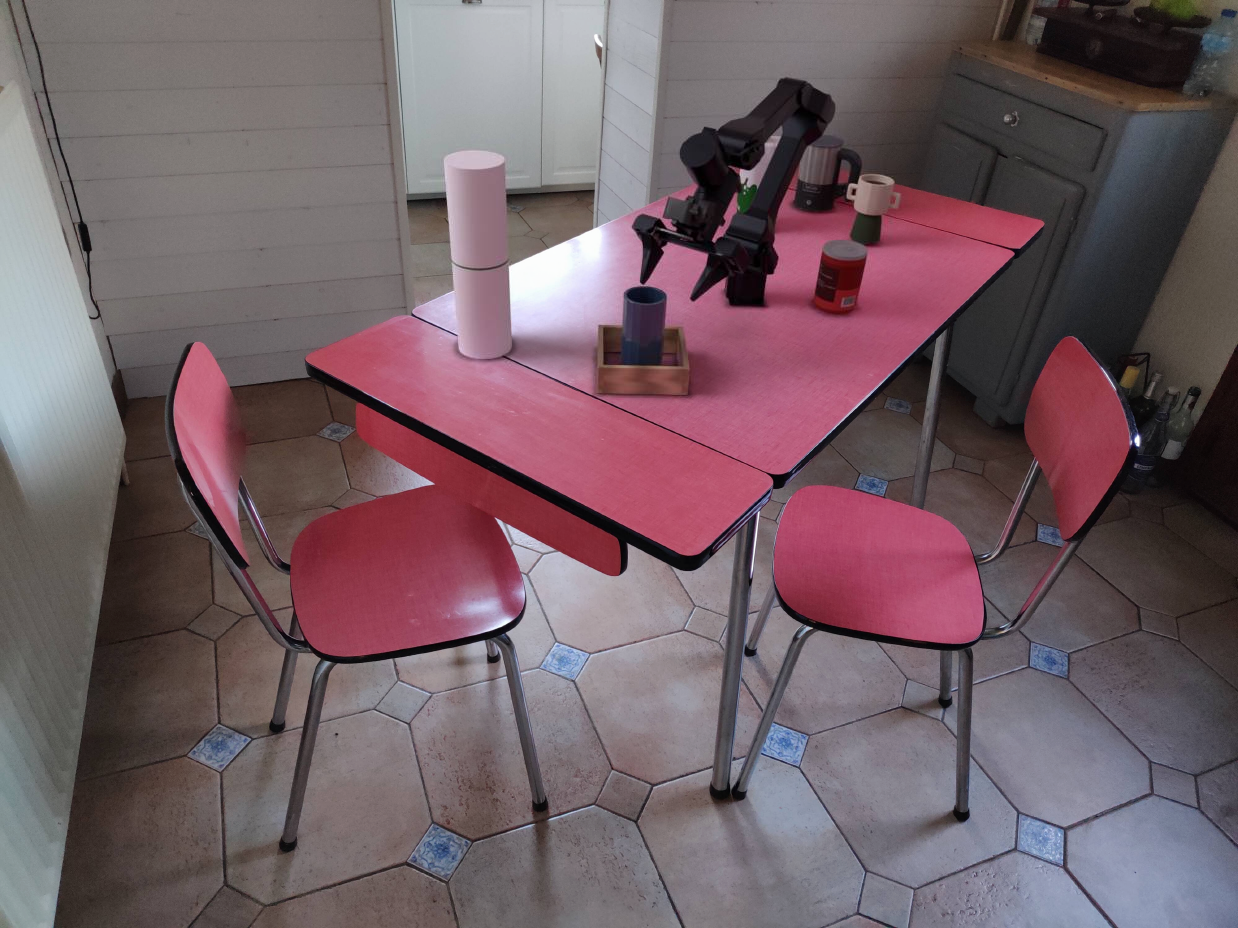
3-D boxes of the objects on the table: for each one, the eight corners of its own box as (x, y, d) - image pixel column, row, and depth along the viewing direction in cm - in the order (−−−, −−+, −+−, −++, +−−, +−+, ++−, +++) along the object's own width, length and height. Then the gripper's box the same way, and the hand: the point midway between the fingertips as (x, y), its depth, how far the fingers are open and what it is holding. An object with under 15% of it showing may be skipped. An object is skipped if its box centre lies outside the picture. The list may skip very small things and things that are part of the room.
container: (460, 333, 147) (446, 150, 129) (512, 333, 148) (505, 150, 130) (456, 359, 140) (441, 169, 123) (511, 359, 141) (504, 169, 123)
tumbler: (660, 361, 142) (665, 286, 134) (662, 382, 137) (668, 305, 129) (620, 360, 142) (623, 285, 134) (620, 381, 137) (624, 304, 129)
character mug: (894, 241, 187) (908, 180, 179) (884, 252, 182) (899, 189, 174) (844, 230, 191) (855, 169, 183) (833, 241, 186) (845, 179, 178)
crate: (680, 351, 145) (682, 326, 142) (687, 395, 134) (689, 369, 131) (597, 349, 145) (598, 324, 142) (597, 393, 134) (598, 367, 131)
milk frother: (791, 211, 199) (801, 143, 190) (792, 188, 212) (802, 123, 203) (855, 217, 197) (869, 149, 189) (852, 193, 210) (865, 129, 201)
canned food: (860, 301, 162) (872, 244, 156) (850, 319, 156) (862, 260, 150) (819, 292, 165) (829, 236, 158) (807, 309, 159) (818, 251, 152)
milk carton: (732, 217, 195) (743, 123, 183) (773, 219, 195) (786, 125, 183) (735, 232, 187) (747, 135, 176) (778, 234, 188) (792, 137, 176)
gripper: (641, 161, 135) (596, 252, 134) (749, 189, 126) (702, 286, 125) (666, 199, 144) (624, 284, 143) (768, 227, 136) (724, 317, 135)
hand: (666, 292), depth 137 cm, fingers open, 9 cm apart
